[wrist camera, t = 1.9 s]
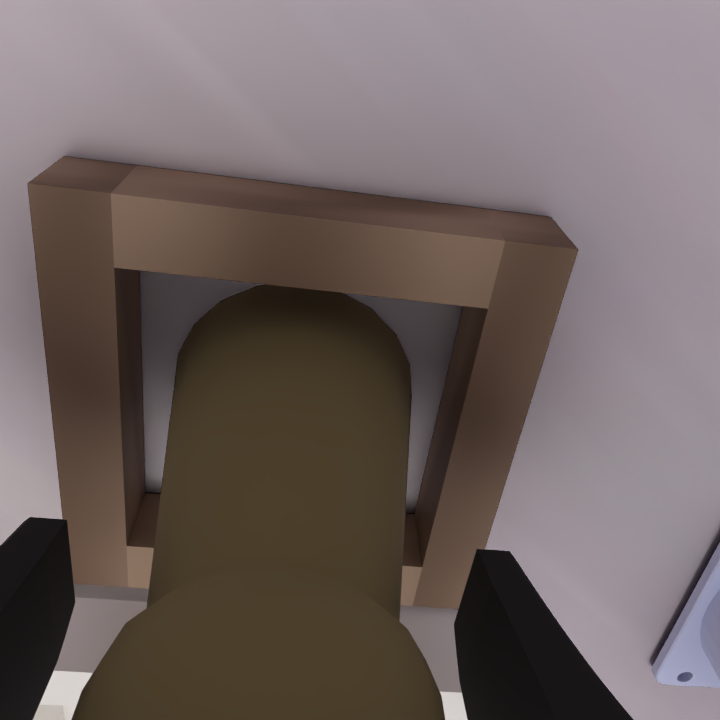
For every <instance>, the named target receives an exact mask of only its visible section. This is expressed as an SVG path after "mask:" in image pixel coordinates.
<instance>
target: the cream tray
mask: <svg viewBox="0 0 720 720" xmlns="http://www.w3.org/2000/svg"><path fill="white" fill-rule="evenodd" d="M148 592H149V589H145V588H130V587H115V586H100V585H84V584H74V593H75V605H74V609H73V612H72V615H71V619H70V622H69V626H68V629H67V633H66V636H65V639H64V642H63V646H62V649H61V652H60V655H59V659H58V661H57V664H56V666H55V669H54V671H53V673H52V676H51V678H50V681H49V683H48V685H47V688H46V690H45V692H44V695H43V697H42V699H41V702H40V704H39V706H38V709H37V711H36V713H35V716H34V718H33V720H71V719H72V717H73V714H74V711H75V708H76V706H77V703H78V700H79V697H80V694H81V692H82V690H83V688H84V687H85V685H86V683H87V682H88V680H89V679H90V677H91V676H92V674H93V672H94V671H95V669H96V668H97V666H98V665H99V663H100V661H101V660H102V658H103V657H104V655H105V654H106V652H107V651H108V649H109V648H110V646H111V645H112V643H113V641H114V640H115V638H116V637H117V635H118V634H119V632H120V631H121V629H122V628H123V626H124V625H125V623H126V622H128V621H129V620H131V619H132V618H134V617H135V616H136V615H138V614H139V613H141V612H142V611H143V610H145V609H146V608H147V600H148ZM457 612H458V609H448V608H433V607H418V606H402V605H400V623H402V624H403V625H404V626H405V627H406V628H407V629H408V630H409V632H410V634H411V635H412V637H413V639H414V640H415V642H416V644H417V646H418V647H419V649H420V651H421V652H422V654H423V656H424V657H425V659H426V661H427V664H428V666H429V668H430V670H431V673H432V675H433V677H434V680H435V682H436V684H437V687H438V689H439V691H440V693H441V696H442V702H443V708H444V715H445V720H468V719H467V715H466V710H465V705H464V701H463V696H462V691H461V686H460V681H459V673H458V664H457V655H456V644H455V632H454V622H455V619H456V616H457Z"/></svg>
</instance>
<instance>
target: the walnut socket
mask: <svg viewBox="0 0 720 720" xmlns="http://www.w3.org/2000/svg"><path fill="white" fill-rule="evenodd" d="M27 184H28V193H29V203H30V212H31V222H32V231H33V241H34V250H35V260H36V269H37V279H38V288H39V298H40V307H41V317H42V326H43V336H44V345H45V355H46V364H47V374H48V383H49V393H50V402H51V412H52V421H53V431H54V440H55V450H56V459H57V469H58V478H59V488H60V497H61V507H62V516H63V520H67V525H68V534H69V544H70V554H71V564H72V573H73V583H74V584H84V585H100V586H115V587H130V588H145V589H149V584H150V576H151V568H152V560H153V552H154V544H155V536H156V528H157V520H158V512H159V503H160V495H161V494H152V493H145V466H144V426H143V386H142V346H141V306H140V271H150V272H159V273H168V274H177V275H186V276H195V277H204V278H213V279H222V280H231V281H240V282H249V283H258V284H268V285H277V286H286V287H295V288H304V289H313V290H322V291H331V292H340V293H349V294H358V295H367V296H376V297H385V298H395V299H404V300H413V301H422V302H431V303H440V304H449V305H458V306H463V309H462V313H461V318H460V322H459V326H458V330H457V335H456V339H455V343H454V348H453V352H452V356H451V360H450V365H449V369H448V373H447V377H446V382H445V386H444V390H443V395H442V399H441V403H440V407H439V412H438V416H437V420H436V424H435V429H434V433H433V437H432V442H431V446H430V450H429V454H428V459H427V463H426V467H425V472H424V476H423V480H422V484H421V489H420V493H419V497H418V501H417V506H416V510H415V514H405V528H404V547H403V566H402V584H401V603H400V605H402V606H418V607H433V608H448V609H459V606H460V602H461V599H462V596H463V593H464V589H465V586H466V583H467V579H468V576H469V573H470V570H471V566H472V563H473V560H474V557H475V553H476V550H477V549H484V550H485V547H486V543H487V540H488V537H489V534H490V531H491V527H492V524H493V521H494V518H495V515H496V511H497V508H498V505H499V502H500V499H501V495H502V492H503V489H504V486H505V483H506V479H507V476H508V473H509V470H510V467H511V463H512V460H513V457H514V454H515V451H516V447H517V444H518V441H519V438H520V435H521V431H522V428H523V425H524V422H525V419H526V415H527V412H528V409H529V406H530V403H531V399H532V396H533V393H534V390H535V387H536V383H537V380H538V377H539V374H540V370H541V367H542V364H543V361H544V358H545V354H546V351H547V348H548V345H549V342H550V338H551V335H552V332H553V329H554V326H555V322H556V319H557V316H558V313H559V310H560V306H561V303H562V300H563V297H564V294H565V290H566V287H567V284H568V281H569V278H570V274H571V271H572V268H573V265H574V262H575V258H576V255H577V252H578V249H577V248H576V246H575V245H574V244H573V243H572V242H571V240H570V239H569V238H568V237H567V236H566V235H565V233H564V232H563V231H562V230H561V229H560V227H559V226H558V225H557V224H556V223H555V221H554V220H553V219H552V218H551V217H546V216H538V215H530V214H522V213H514V212H506V211H498V210H490V209H482V208H474V207H466V206H458V205H450V204H442V203H434V202H426V201H418V200H410V199H402V198H394V197H386V196H378V195H370V194H362V193H354V192H346V191H338V190H330V189H322V188H314V187H306V186H298V185H290V184H282V183H274V182H266V181H258V180H250V179H242V178H234V177H226V176H218V175H210V174H202V173H194V172H186V171H178V170H170V169H162V168H154V167H146V166H138V165H130V164H121V163H113V162H105V161H97V160H89V159H81V158H73V157H65V156H64V157H62V158H61V159H60V160H58V161H57V162H56V163H54V164H53V165H51V166H50V167H49V168H47V169H46V170H45V171H43V172H42V173H41V174H39V175H38V176H37V177H35V178H34V179H33V180H31V181H30V182H29V183H27Z"/></svg>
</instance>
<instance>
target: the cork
mask: <svg viewBox="0 0 720 720" xmlns="http://www.w3.org/2000/svg"><path fill="white" fill-rule="evenodd" d="M411 398H412V394H411V377H410V364H409V362H408V359H407V357H406V355H405V353H404V351H403V348H402V346H401V344H400V342H399V339H398V337H397V335H396V334H395V333H394V332H393V331H392V329H391V328H390V327H389V326H388V325H387V324H386V323H385V322H384V321H383V320H382V319H381V318H380V317H379V316H378V315H377V314H376V313H375V312H374V311H373V310H372V309H371V308H369V307H368V306H366V305H364V304H362V303H360V302H358V301H356V300H354V299H353V298H351V297H349V296H347V295H345V294H343V293H340V292H331V291H322V290H313V289H304V288H295V287H286V286H277V285H264V286H256V287H254V288H251V289H249V290H247V291H244V292H242V293H239V294H237V295H234V296H232V297H230V298H227V299H225V300H222V301H221V302H220V303H218V304H217V305H216V306H215V307H214V308H213V309H211V310H210V311H209V312H208V313H207V314H206V315H205V316H203V317H202V318H201V319H200V320H199V321H198V322H197V323H195V324H194V326H193V328H192V329H191V331H190V333H189V335H188V337H187V339H186V340H185V342H184V344H183V346H182V348H181V350H180V352H179V353H178V359H177V367H176V375H175V383H174V391H173V399H172V407H171V415H170V423H169V431H168V439H167V447H166V455H165V463H164V471H163V479H162V487H161V495H160V503H159V512H158V520H157V528H156V536H155V544H154V552H153V560H152V568H151V576H150V584H149V592H148V600H147V608H146V609H145V610H143V611H142V612H141V613H139V614H138V615H136V616H135V617H134V618H132V619H131V620H129V621H128V622H126V623H125V625H124V626H123V628H122V629H121V631H120V632H119V634H118V635H117V637H116V638H115V640H114V641H113V643H112V645H111V646H110V648H109V649H108V651H107V652H106V654H105V655H104V657H103V658H102V660H101V661H100V663H99V665H98V666H97V668H96V669H95V671H94V672H93V674H92V676H91V677H90V679H89V680H88V682H87V683H86V685H85V687H84V688H83V690H82V692H81V694H80V697H79V700H78V703H77V706H76V708H75V711H74V714H73V717H72V719H71V720H445V715H444V708H443V702H442V696H441V693H440V691H439V689H438V687H437V684H436V682H435V680H434V677H433V675H432V673H431V670H430V668H429V666H428V664H427V661H426V659H425V657H424V656H423V654H422V652H421V651H420V649H419V647H418V646H417V644H416V642H415V640H414V639H413V637H412V635H411V634H410V632H409V630H408V629H407V628H406V627H405V626H404V625H403V624H402V623H400V603H401V584H402V566H403V547H404V528H405V510H406V491H407V472H408V454H409V435H410V416H411Z"/></svg>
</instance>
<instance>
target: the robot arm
mask: <svg viewBox="0 0 720 720" xmlns="http://www.w3.org/2000/svg"><path fill="white" fill-rule="evenodd" d="M74 605H75V593H74V583H73V573H72V564H71V554H70V544H69V534H68V525H67V520H62V519H48V518H34V517H30V518H28V519H27V520H26V521H24V522H23V523H22V524H21V525H20V526H19V527H18V528H17V529H16V530H15V531H14V532H13V533H12V534H11V536H10V537H9V538H8V539H7V540H6V541H5V542H4V543H3V544H2V545H1V546H0V720H33V718H34V716H35V713H36V711H37V709H38V706H39V704H40V702H41V699H42V697H43V695H44V692H45V690H46V688H47V685H48V683H49V681H50V678H51V676H52V673H53V671H54V669H55V666H56V664H57V661H58V659H59V655H60V652H61V649H62V646H63V642H64V639H65V636H66V633H67V629H68V626H69V622H70V619H71V615H72V612H73V609H74ZM454 632H455V644H456V655H457V664H458V673H459V681H460V686H461V691H462V696H463V701H464V705H465V710H466V715H467V719H468V720H633V719H632V718H631V716H630V715H629V714H628V713H627V712H626V710H625V709H624V708H623V707H622V706H621V704H620V703H619V702H618V701H617V700H616V698H615V697H614V696H613V695H612V693H611V692H610V691H609V690H608V688H607V687H606V686H605V685H604V683H603V682H602V681H601V680H600V678H599V677H598V676H597V674H596V673H595V672H594V671H593V669H592V668H591V667H590V665H589V664H588V663H587V661H586V660H585V659H584V657H583V656H582V655H581V653H580V652H579V651H578V649H577V648H576V647H575V645H574V644H573V642H572V641H571V640H570V638H569V637H568V636H567V634H566V633H565V632H564V630H563V629H562V627H561V626H560V625H559V623H558V622H557V620H556V619H555V617H554V616H553V615H552V613H551V612H550V610H549V609H548V607H547V606H546V604H545V603H544V601H543V600H542V598H541V597H540V596H539V594H538V593H537V591H536V590H535V588H534V587H533V585H532V584H531V582H530V581H529V579H528V578H527V576H526V575H525V573H524V572H523V570H522V569H521V567H520V566H519V564H518V562H517V561H516V560H515V558H514V557H513V555H512V554H511V553H510V551H498V550H484V549H477V550H476V553H475V557H474V560H473V563H472V566H471V570H470V573H469V576H468V579H467V583H466V586H465V589H464V593H463V596H462V599H461V602H460V606H459V609H458V612H457V616H456V619H455V622H454ZM652 672H653V674H654V676H655V679H656V681H657V682H659V683H661V684H665V685H681V686H699V687H716V688H720V543H719V545H718V546H717V548H716V550H715V552H714V554H713V556H712V557H711V559H710V561H709V563H708V565H707V567H706V568H705V570H704V572H703V574H702V576H701V578H700V580H699V581H698V583H697V585H696V587H695V589H694V591H693V592H692V594H691V596H690V598H689V600H688V602H687V604H686V605H685V607H684V609H683V611H682V613H681V615H680V616H679V618H678V620H677V622H676V624H675V626H674V627H673V629H672V631H671V633H670V635H669V637H668V639H667V640H666V642H665V644H664V646H663V648H662V650H661V651H660V653H659V655H658V657H657V659H656V661H655V662H654V664H653V666H652Z"/></svg>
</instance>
